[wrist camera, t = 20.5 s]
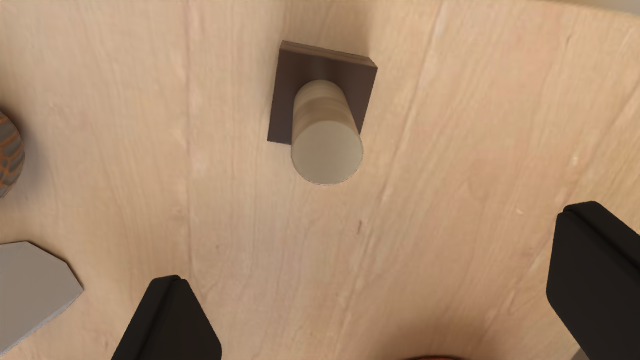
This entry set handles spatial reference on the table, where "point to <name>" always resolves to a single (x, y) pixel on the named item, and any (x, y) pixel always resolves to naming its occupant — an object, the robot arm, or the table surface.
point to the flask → (31, 291)
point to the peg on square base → (321, 110)
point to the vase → (9, 155)
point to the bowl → (436, 359)
